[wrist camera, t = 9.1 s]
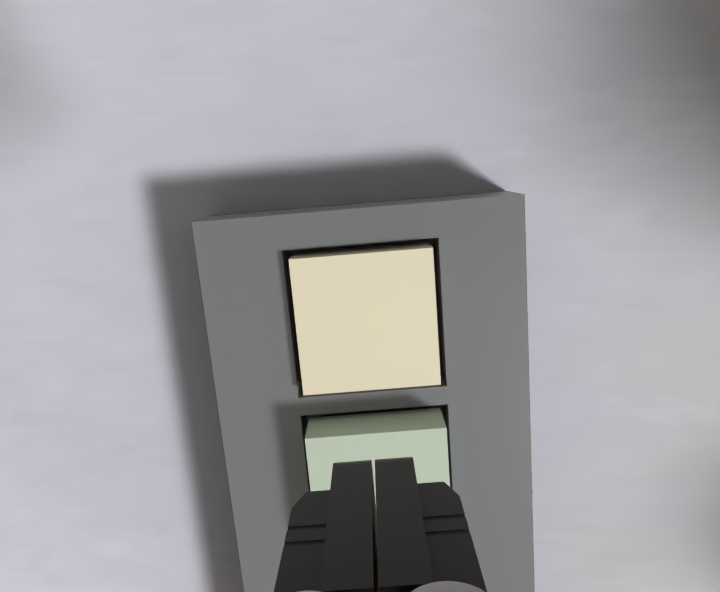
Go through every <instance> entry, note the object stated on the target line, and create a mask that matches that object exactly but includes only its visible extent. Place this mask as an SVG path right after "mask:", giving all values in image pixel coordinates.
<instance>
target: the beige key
mask: <svg viewBox="0 0 720 592" xmlns="http://www.w3.org/2000/svg"><path fill="white" fill-rule="evenodd" d="M289 269H290V278H291V287H292V296H293V305H294V315H295V324H296V333H297V342H298V351H299V360H300V369H301V378H302V387H303V395H315V394H328V393H341V392H354V391H366V390H379V389H392V388H404V387H417V386H430V385H441V376H440V359H439V342H438V325H437V308H436V290H435V273H434V256H433V247H432V246H431V245H430V244H429V242H428V241H423V242H411V243H399V244H387V245H375V246H363V247H351V248H339V249H327V250H315V251H303V252H294V253H293V254H292V256H291V257H290V258H289Z"/></svg>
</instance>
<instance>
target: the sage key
mask: <svg viewBox="0 0 720 592" xmlns="http://www.w3.org/2000/svg"><path fill="white" fill-rule="evenodd" d="M305 446H306V455H307V464H308V473H309V482H310V491H323V490H330V486H331V477H332V468H333V463H337V462H350V461H363V460H372V468H373V479H374V490H375V502H376V485H375V459H388V458H402V457H413V461H414V467H415V473H416V479H417V483H430V482H443V481H444V482H445V483H446V484H447V485H448V486H449V487H450V478H449V460H448V443H447V427H446V424H445V421H444V418H443V415H442V412H441V409H440V408H431V409H418V410H405V411H392V412H379V413H366V414H354V415H341V416H328V417H315V418H309V420H308V425H307V430H306V435H305Z"/></svg>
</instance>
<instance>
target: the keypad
mask: <svg viewBox="0 0 720 592" xmlns="http://www.w3.org/2000/svg"><path fill="white" fill-rule="evenodd" d="M191 223H192V230H193V237H194V244H195V251H196V258H197V265H198V272H199V279H200V286H201V293H202V300H203V307H204V314H205V321H206V328H207V335H208V342H209V349H210V356H211V363H212V370H213V377H214V384H215V391H216V398H217V405H218V412H219V419H220V426H221V433H222V440H223V447H224V455H225V462H226V469H227V476H228V483H229V490H230V497H231V504H232V511H233V518H234V525H235V532H236V539H237V546H238V553H239V560H240V567H241V574H242V581H243V588H244V592H274V588H275V583H276V579H277V574H278V569H279V565H280V560H281V555H282V551H283V546H284V541H285V537H286V532H287V530H288V523H289V518H290V514H291V509H292V507H293V506H294V505H295V504H296V503H297V502H298V501H299V499H300V498H301V497H302V496H303V495H304V494H305V493H306V492H309V491H310V482H309V473H308V464H307V455H306V446H305V435H306V430H307V425H308V420H309V418H315V417H328V416H341V415H354V414H366V413H379V412H392V411H405V410H418V409H431V408H440V409H441V412H442V415H443V418H444V421H445V424H446V427H447V443H448V460H449V478H450V488H452V489H453V490H454V491H455V492H456V493H457V494H458V495H459V496H460V499H461V502H462V506H463V509H464V513H465V518H466V520H467V523H468V527H469V532H470V534H471V537H472V541H473V544H474V548H475V551H476V555H477V558H478V562H479V565H480V569H481V572H482V576H483V579H484V583H485V586H486V589H487V592H535V591H534V551H533V511H532V472H531V432H530V392H529V352H528V313H527V273H526V233H525V194H520V193H515V192H509V191H500V192H488V193H476V194H464V195H453V196H441V197H429V198H417V199H405V200H393V201H382V202H370V203H358V204H346V205H334V206H322V207H310V208H299V209H287V210H275V211H263V212H251V213H239V214H228V215H216V216H209V217H206V218H203V219H200V220H197V221H194V222H191ZM423 241H428V242H429V244H430V245H431V246H432V247H433V256H434V273H435V290H436V308H437V325H438V342H439V359H440V376H441V385H430V386H417V387H404V388H392V389H379V390H366V391H354V392H341V393H328V394H315V395H303V387H302V378H301V369H300V360H299V351H298V342H297V333H296V324H295V315H294V305H293V296H292V287H291V278H290V269H289V258H290V257H291V256H292V254H293V253H294V252H303V251H315V250H327V249H339V248H351V247H363V246H375V245H387V244H399V243H411V242H423Z"/></svg>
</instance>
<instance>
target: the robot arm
mask: <svg viewBox="0 0 720 592" xmlns="http://www.w3.org/2000/svg"><path fill="white" fill-rule="evenodd" d="M375 485H376V502H375V490H374V479H373V468H372V460H363V461H350V462H337V463H333V468H332V477H331V486H330V490H323V491H309V492H306V493H305V494H304V495H303V496H302V497H301V498H300V499H299V501H298V502H297V503H296V504H295V505H294V506H293V507H292V509H291V514H290V518H289V523H288V530H287V532H286V537H285V541H284V546H283V551H282V555H281V560H280V565H279V569H278V574H277V579H276V583H275V588H274V592H487V589H486V586H485V583H484V579H483V576H482V572H481V569H480V565H479V562H478V558H477V555H476V551H475V548H474V544H473V541H472V537H471V534H470V532H469V527H468V523H467V520H466V518H465V513H464V509H463V506H462V502H461V499H460V496H459V495H458V494H457V493H456V492H455V491H454V490H453V489H452V488H450V487H449V486H448V485H447V484H446V483H445V482H444V481H443V482H430V483H417V479H416V473H415V467H414V461H413V457H402V458H388V459H375Z"/></svg>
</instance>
